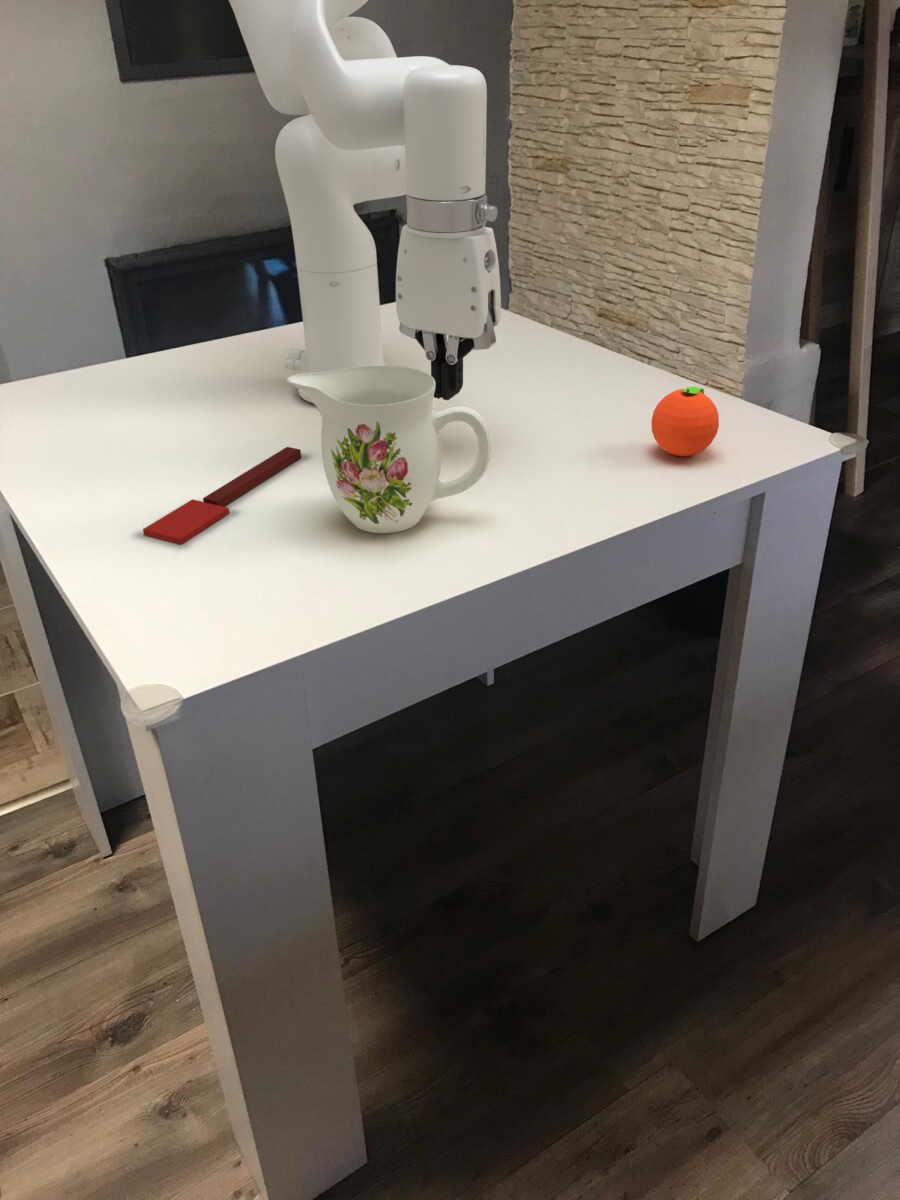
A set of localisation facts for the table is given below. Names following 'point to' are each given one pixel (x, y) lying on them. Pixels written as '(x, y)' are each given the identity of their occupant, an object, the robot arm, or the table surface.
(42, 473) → the table surface
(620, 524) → the table surface
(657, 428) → the clementine
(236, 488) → the spatula
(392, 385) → the pitcher
